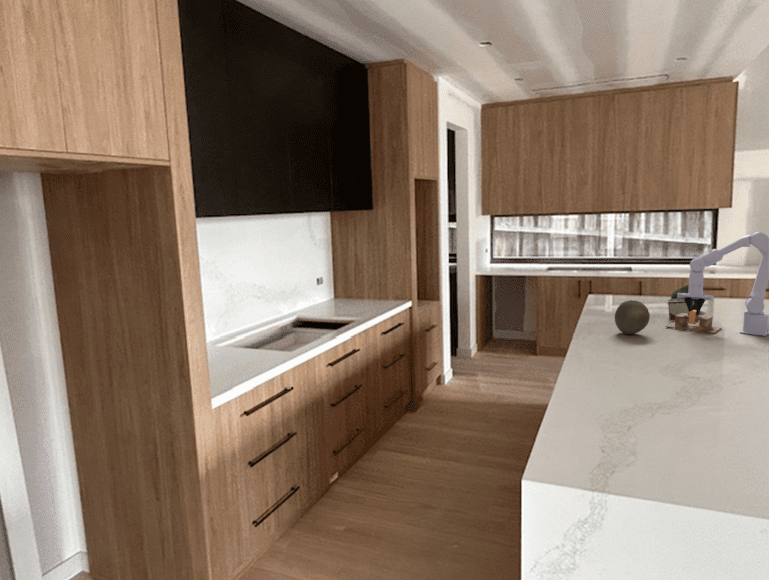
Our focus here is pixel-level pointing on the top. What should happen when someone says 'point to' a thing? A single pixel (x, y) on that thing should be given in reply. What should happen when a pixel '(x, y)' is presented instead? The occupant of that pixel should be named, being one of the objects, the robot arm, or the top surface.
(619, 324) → the cantaloupe
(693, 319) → the orange step-cut beam
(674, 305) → the food container
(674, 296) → the squash
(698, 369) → the top surface
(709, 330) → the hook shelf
